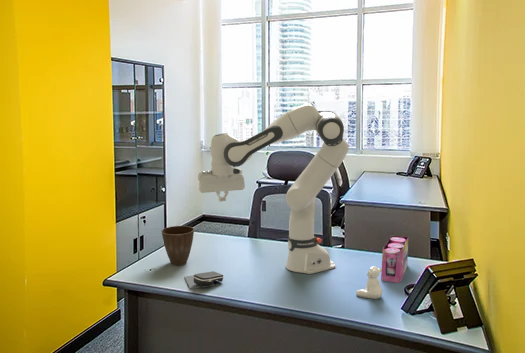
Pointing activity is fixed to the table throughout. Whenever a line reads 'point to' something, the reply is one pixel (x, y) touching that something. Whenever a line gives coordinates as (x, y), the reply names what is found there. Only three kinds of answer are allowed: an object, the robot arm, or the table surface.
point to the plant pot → (178, 243)
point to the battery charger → (207, 278)
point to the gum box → (394, 259)
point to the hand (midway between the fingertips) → (222, 201)
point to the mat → (191, 282)
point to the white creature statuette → (371, 285)
